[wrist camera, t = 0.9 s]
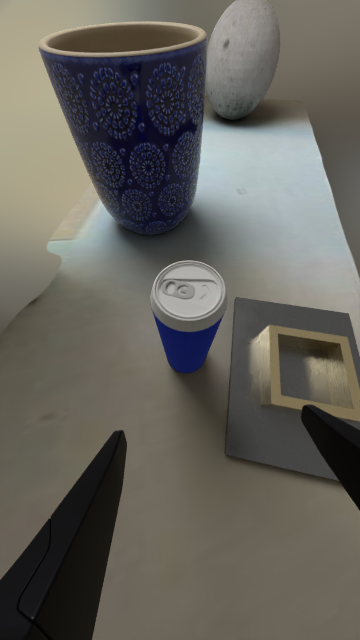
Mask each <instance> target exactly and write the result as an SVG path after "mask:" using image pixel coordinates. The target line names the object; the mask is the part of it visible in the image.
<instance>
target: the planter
mask: <svg viewBox="0 0 360 640" xmlns="http://www.w3.org/2000/svg"><path fill="white" fill-rule="evenodd" d="M39 51H40V53H41V56H42V59H43V62H44V64H45V67H46V70H47V73H48V75H49V78H50V80H51V83H52V86H53V88H54V91H55V93H56V95H57V98H58V101H59V103H60V106H61V108H62V111H63V113H64V116H65V118H66V121H67V123H68V126H69V128H70V131H71V133H72V136H73V138H74V141H75V143H76V145H77V148H78V150H79V152H80V155H81V157H82V159H83V162H84V165H85V167H86V169H87V172H88V174H89V176H90V178H91V180H92V183H93V185H94V187H95V189H96V191H97V193H98V195H99V197H100V199H101V201H102V203H103V205H104V206H105V208H106V210H107V211H108V212H109V214H110V215H111V216H112V217H113V218H114V219H115V220H116V221H117V222H118V223H119V224H121V225H122V226H124V227H125V228H127V229H129V230H131V231H133V232H136V233H140V234H159V233H163V232H166V231H168V230H170V229H172V228H174V227H175V226H177V225H178V224H179V223H180V222H181V221H182V220H183V219H184V218H185V216H186V215H187V213H188V212H189V210H190V208H191V206H192V203H193V201H194V197H195V193H196V188H197V181H198V173H199V164H200V153H201V141H202V129H203V115H204V99H205V83H206V65H207V35H206V32H205V31H204V30H202V29H200V28H198V27H195V26H192V25H187V24H181V23H171V22H170V23H169V22H120V23H108V24H98V25H90V26H84V27H78V28H72V29H67V30H63V31H60V32H56V33H53V34H51V35H48V36H46V37H44V38H43V39H42V40H41V41H40V42H39Z"/></svg>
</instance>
